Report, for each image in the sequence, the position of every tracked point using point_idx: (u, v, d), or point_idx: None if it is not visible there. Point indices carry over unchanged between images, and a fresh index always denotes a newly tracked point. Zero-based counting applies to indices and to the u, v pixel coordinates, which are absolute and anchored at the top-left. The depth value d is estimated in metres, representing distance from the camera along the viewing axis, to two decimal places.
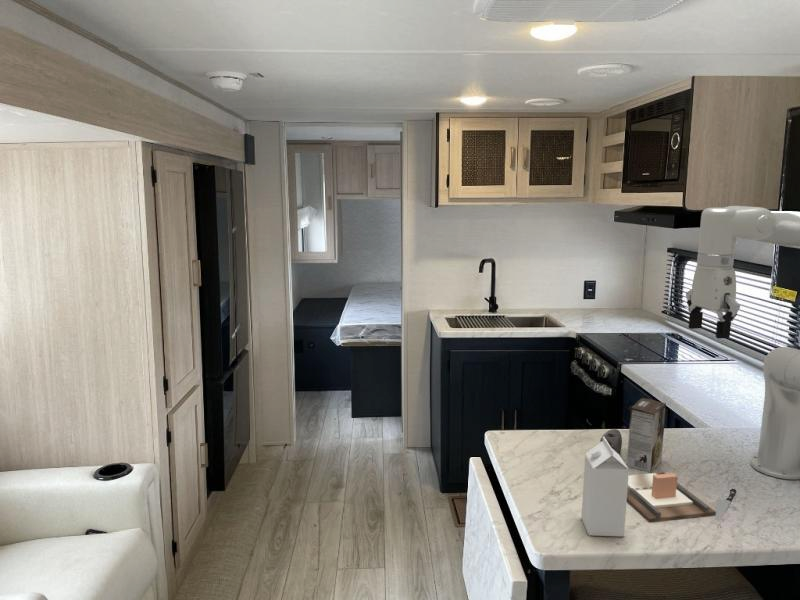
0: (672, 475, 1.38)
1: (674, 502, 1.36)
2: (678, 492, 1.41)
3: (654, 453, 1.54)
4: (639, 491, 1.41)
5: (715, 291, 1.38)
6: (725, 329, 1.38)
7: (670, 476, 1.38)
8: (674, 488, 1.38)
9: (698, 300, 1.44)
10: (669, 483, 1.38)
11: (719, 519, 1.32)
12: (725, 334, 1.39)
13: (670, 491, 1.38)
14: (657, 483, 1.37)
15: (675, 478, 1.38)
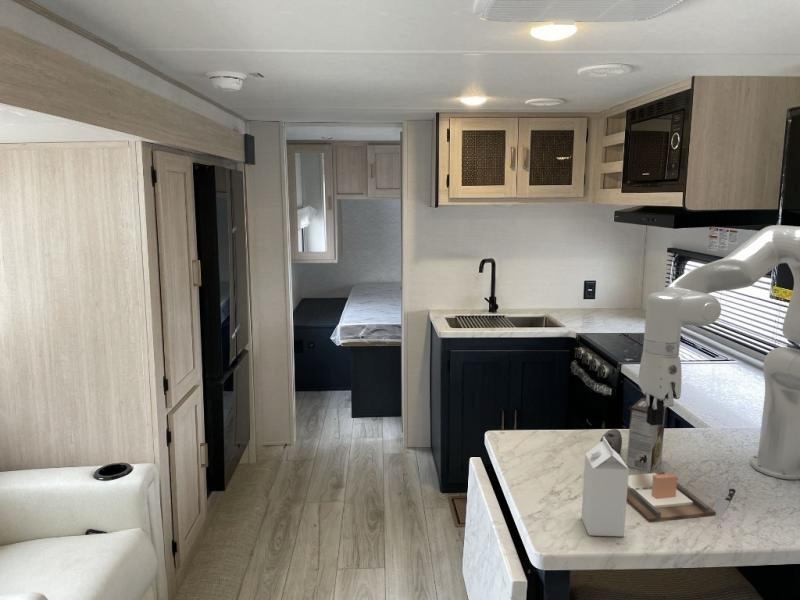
0: (672, 475, 1.38)
1: (674, 502, 1.36)
2: (678, 492, 1.41)
3: (654, 453, 1.54)
4: (639, 491, 1.41)
5: (660, 379, 1.35)
6: (658, 417, 1.39)
7: (670, 476, 1.38)
8: (674, 488, 1.38)
9: (645, 385, 1.41)
10: (669, 483, 1.38)
11: None
12: (658, 421, 1.39)
13: (670, 491, 1.38)
14: (657, 483, 1.37)
15: (675, 478, 1.38)
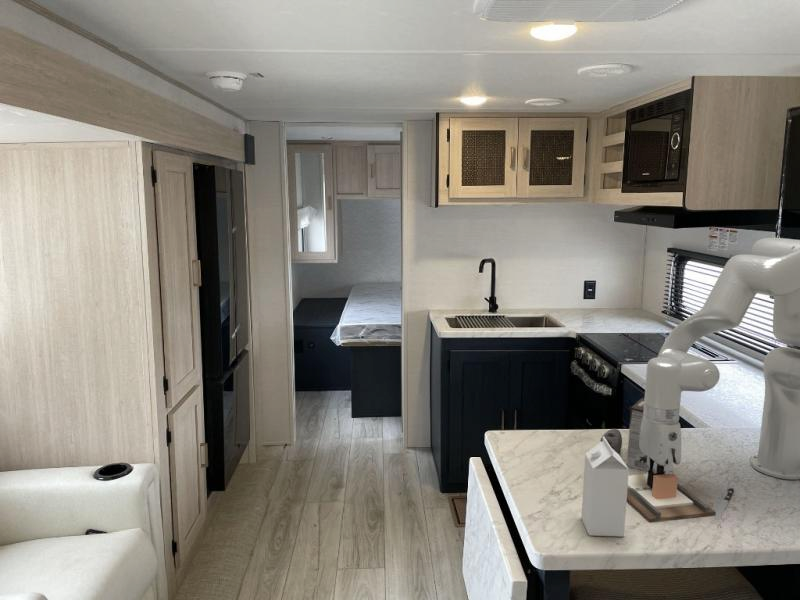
0: (672, 475, 1.38)
1: (674, 502, 1.36)
2: (678, 492, 1.40)
3: None
4: (639, 491, 1.41)
5: (660, 446, 1.36)
6: None
7: (670, 476, 1.38)
8: (674, 488, 1.38)
9: (645, 448, 1.41)
10: (669, 483, 1.37)
11: (718, 519, 1.32)
12: None
13: (670, 491, 1.38)
14: (657, 483, 1.37)
15: (675, 478, 1.37)
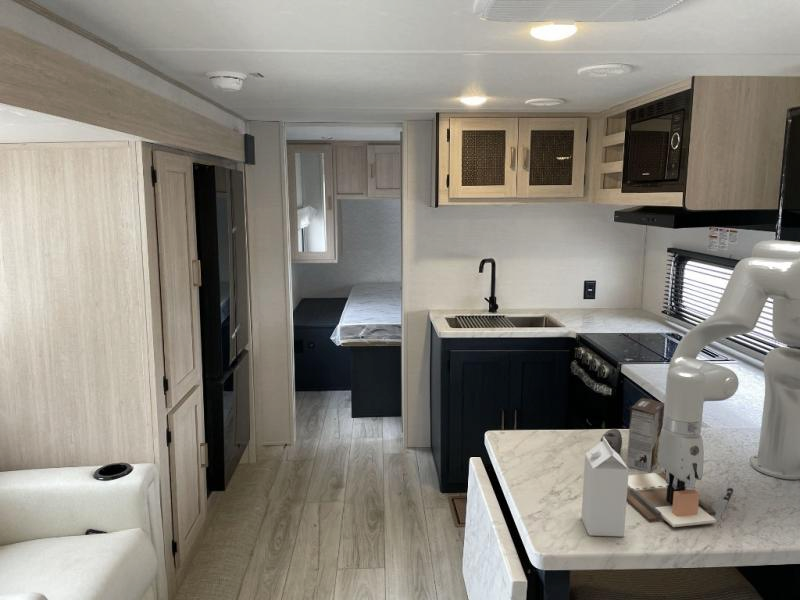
0: (694, 491, 1.31)
1: (696, 520, 1.29)
2: (700, 509, 1.33)
3: (654, 453, 1.54)
4: (658, 508, 1.34)
5: (681, 460, 1.28)
6: None
7: (692, 492, 1.30)
8: (696, 505, 1.31)
9: (664, 462, 1.34)
10: (691, 500, 1.30)
11: (717, 518, 1.32)
12: None
13: (692, 508, 1.31)
14: (678, 500, 1.30)
15: (697, 495, 1.30)
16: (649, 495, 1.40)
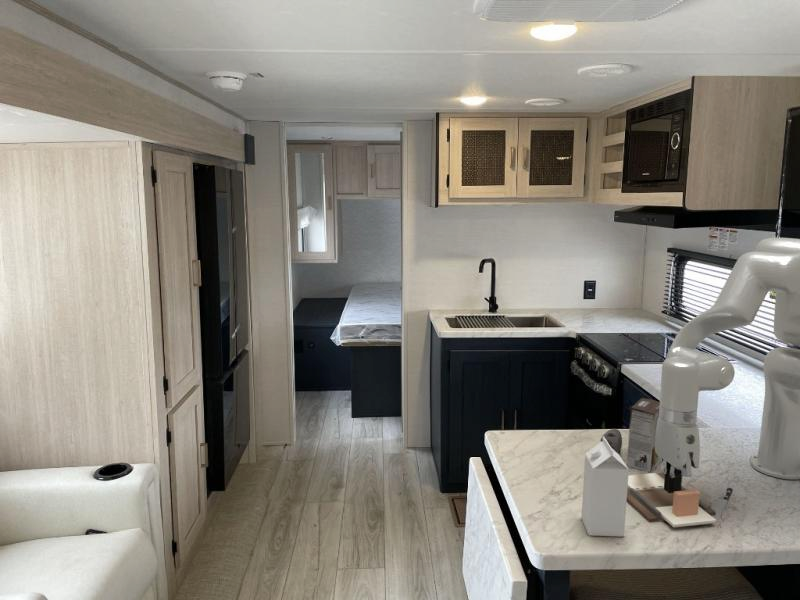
0: (694, 491, 1.31)
1: (696, 520, 1.29)
2: (700, 509, 1.33)
3: (654, 453, 1.54)
4: (659, 508, 1.34)
5: (677, 449, 1.30)
6: (676, 485, 1.35)
7: (692, 493, 1.30)
8: (696, 505, 1.31)
9: (661, 452, 1.36)
10: (691, 500, 1.30)
11: (717, 518, 1.32)
12: (676, 490, 1.35)
13: (692, 508, 1.31)
14: (678, 500, 1.30)
15: (697, 495, 1.30)
16: (649, 495, 1.40)
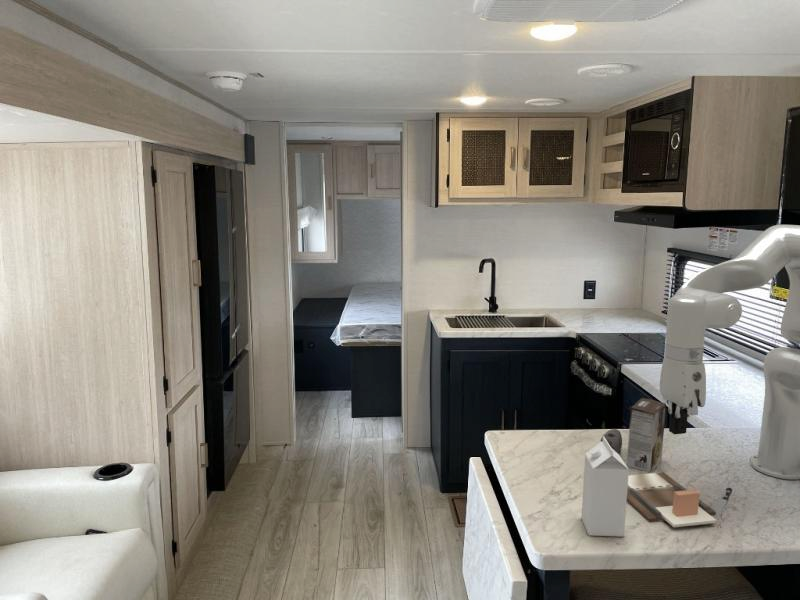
0: (694, 491, 1.31)
1: (696, 520, 1.29)
2: (700, 509, 1.33)
3: (654, 453, 1.54)
4: (659, 508, 1.34)
5: (683, 387, 1.28)
6: (681, 425, 1.33)
7: (692, 493, 1.30)
8: (696, 505, 1.31)
9: (666, 392, 1.34)
10: (691, 500, 1.30)
11: (716, 518, 1.32)
12: (681, 430, 1.33)
13: (692, 508, 1.31)
14: (678, 500, 1.30)
15: (697, 495, 1.30)
16: (649, 495, 1.40)
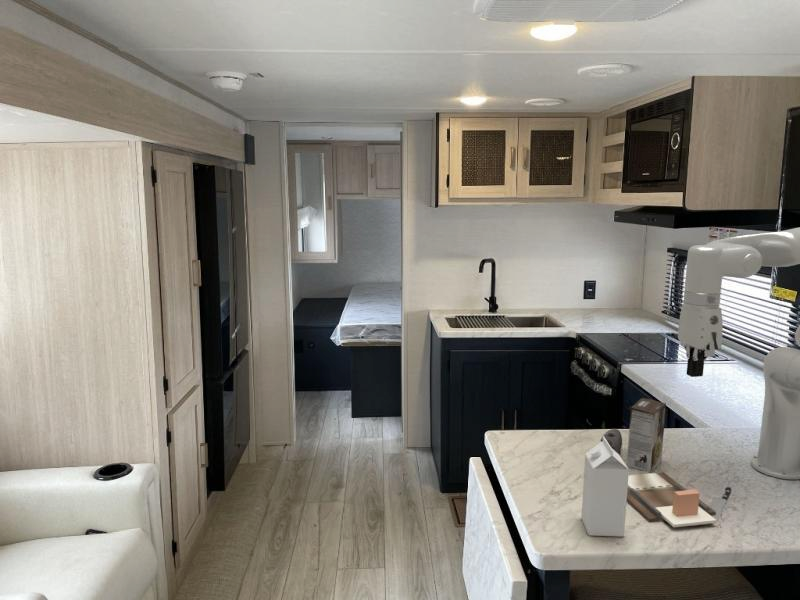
0: (694, 491, 1.31)
1: (696, 520, 1.29)
2: (700, 509, 1.33)
3: (654, 453, 1.54)
4: (659, 508, 1.34)
5: (701, 330, 1.37)
6: (698, 368, 1.42)
7: (692, 493, 1.30)
8: (696, 505, 1.31)
9: (685, 337, 1.43)
10: (691, 500, 1.30)
11: (716, 518, 1.32)
12: (698, 373, 1.42)
13: (692, 508, 1.31)
14: (678, 500, 1.30)
15: (697, 495, 1.30)
16: (649, 495, 1.40)
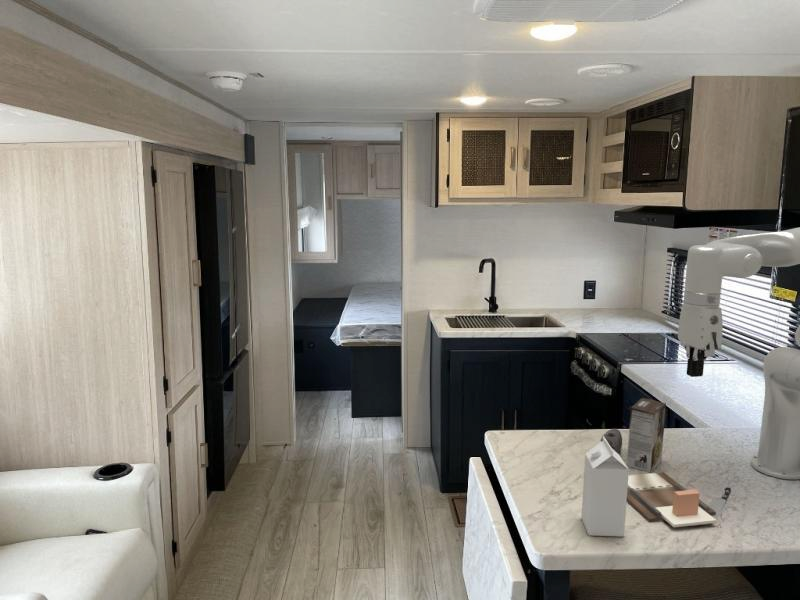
0: (694, 491, 1.31)
1: (696, 520, 1.29)
2: (700, 509, 1.33)
3: (654, 453, 1.54)
4: (659, 508, 1.34)
5: (701, 330, 1.37)
6: (698, 368, 1.42)
7: (692, 493, 1.30)
8: (696, 505, 1.31)
9: (685, 337, 1.43)
10: (691, 500, 1.30)
11: (716, 518, 1.32)
12: (698, 373, 1.42)
13: (692, 508, 1.31)
14: (678, 500, 1.30)
15: (697, 495, 1.30)
16: (649, 495, 1.40)
